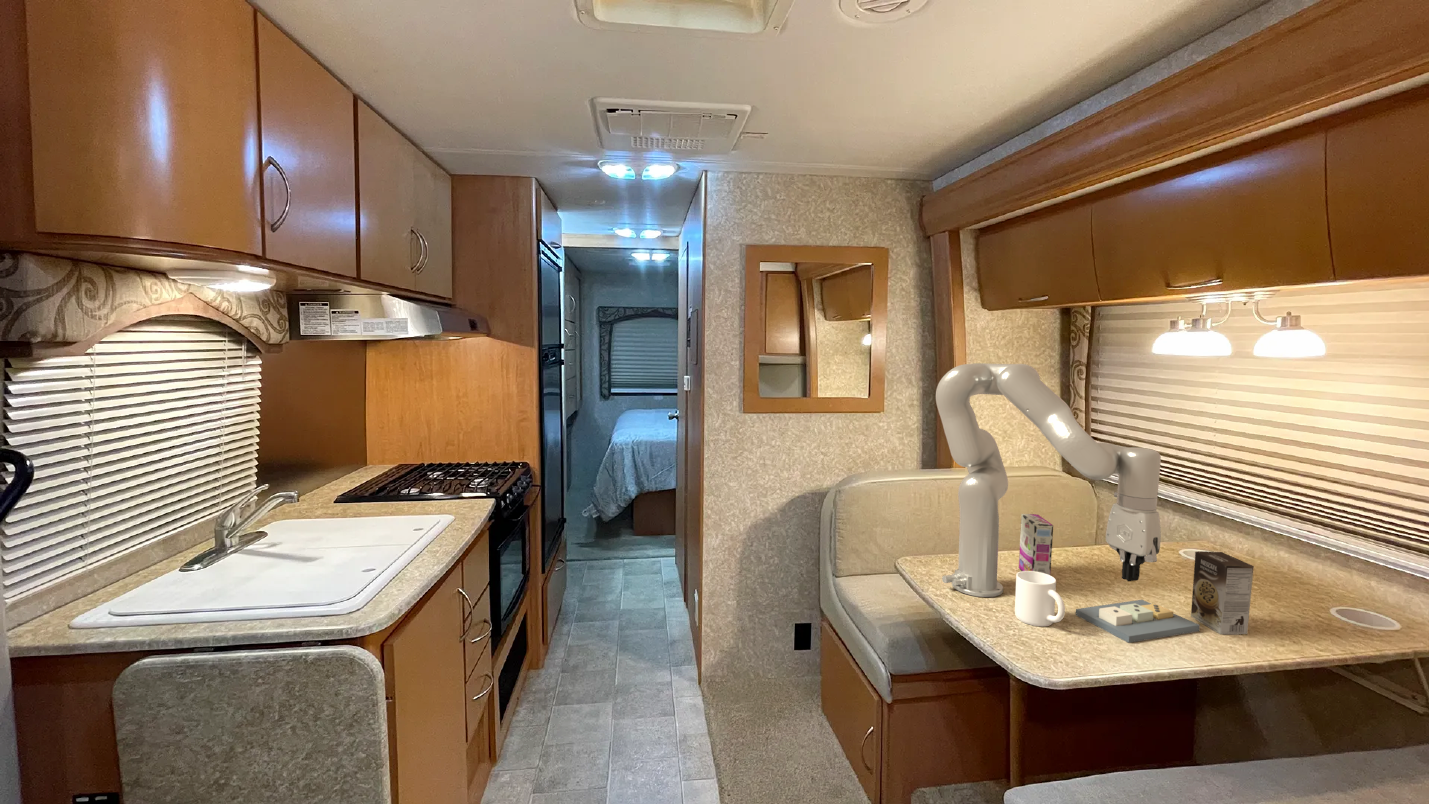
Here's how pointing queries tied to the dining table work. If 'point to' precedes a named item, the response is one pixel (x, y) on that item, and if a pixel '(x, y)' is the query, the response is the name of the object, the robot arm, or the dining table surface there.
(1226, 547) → the dining table surface
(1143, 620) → the tile
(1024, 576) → the mug
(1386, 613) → the dining table surface
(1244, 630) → the coffee box
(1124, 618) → the tile
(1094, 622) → the board
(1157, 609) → the tile
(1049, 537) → the candy bar box
